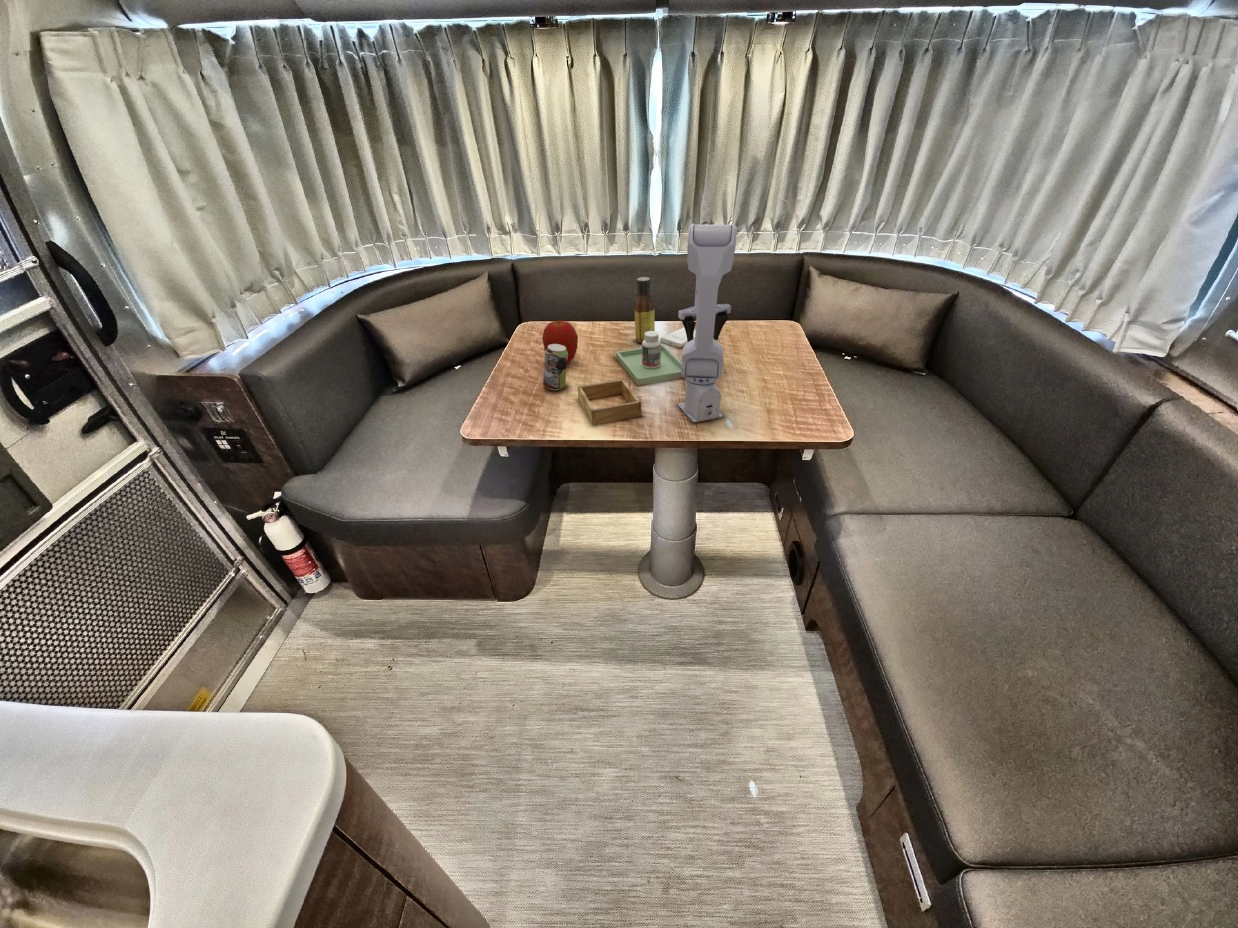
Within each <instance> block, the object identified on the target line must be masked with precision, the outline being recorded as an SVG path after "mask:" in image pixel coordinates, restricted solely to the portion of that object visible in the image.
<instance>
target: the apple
mask: <svg viewBox="0 0 1238 928" xmlns="http://www.w3.org/2000/svg"><path fill="white" fill-rule="evenodd" d="M541 339H542V344H543V349H544V351H545V350H546V349H547V348H548V345H550V344H560V345H563V346H565V347H566V350H567V352H568V359H567V365H568V364H569V363H571V362H572V361H574V359H575V357H576V354H577V350H578V345H579V343H578V342H579V336H578V333H577V331H576V329H575V327H574V325H572V324H571V323H570V322H569V321H564V320H559V319H557V320H553V321H551V322H548V324H547V325H546V326H545V327H544V328H543V333H542V337H541Z"/></svg>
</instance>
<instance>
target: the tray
mask: <svg viewBox="0 0 1238 928" xmlns="http://www.w3.org/2000/svg"><path fill="white" fill-rule="evenodd" d="M615 359H616V361H618V363H620V365H621V366H622V368H623V369H624V370H625V372H627V375H629V377H630V378H631V379H632V380H633V382H634V383H635V384H636V385H637V386H642V385H649V384H655V383H661V382H667V381H672V380H679V379H683V378H684V379H686V376H685V377H683V376H682V375H681V363H682V360H680V359H679V358H678V357H677V356H676V355H675V354H674V352H672V351H671V350H670V349H669V348H668V347H667V346H666V345H665V344H661V359H660V366H659V367H657V368H654V369H648V368H645V367H643V365H642V347H638V348H633V349H627V350H620V351H615Z"/></svg>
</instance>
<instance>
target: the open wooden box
mask: <svg viewBox="0 0 1238 928" xmlns="http://www.w3.org/2000/svg"><path fill="white" fill-rule="evenodd" d="M577 395H578V401H579V403H580V406H581V407H582V408H583V410H584V412H585V414H586V416H587V418H588V419H589V421H590V423H591V425H592V426H596V425H601V424H606V423H611V422H617V421H623V420H627V419H634V418H638V417H642V401H641V400H640V399H639V398H638V396H637V395H636V393H635V392H634V391H633V390H632V388H631V387H630V385H629V384H628V383H627V381H626V380H625V379H624V378H621V379H617V380H616V379H614V380H609V381H602V382H598V383H591V384H586V385H580V386H577ZM619 395H622V396H623V398H624V399H625V401H626V403H621V404H620V403H619V404H614V405H608V406H603V407H598V408H595V407H594V406H593V405H592V403H591V401H590V400H595V399H601V398H607V397H612V396H619Z"/></svg>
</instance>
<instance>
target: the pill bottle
mask: <svg viewBox="0 0 1238 928" xmlns="http://www.w3.org/2000/svg"><path fill="white" fill-rule="evenodd" d="M659 335H660V334H659V332H657V331H656V330H655V331H648V332H645V335H644V338H645V340H643V342H642V344H641V348H642V365H643V367H645V368H648V369H654V368H657V367H659V366H660V359H661V345H662V342H661V339H659V337H660V336H659Z"/></svg>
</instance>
